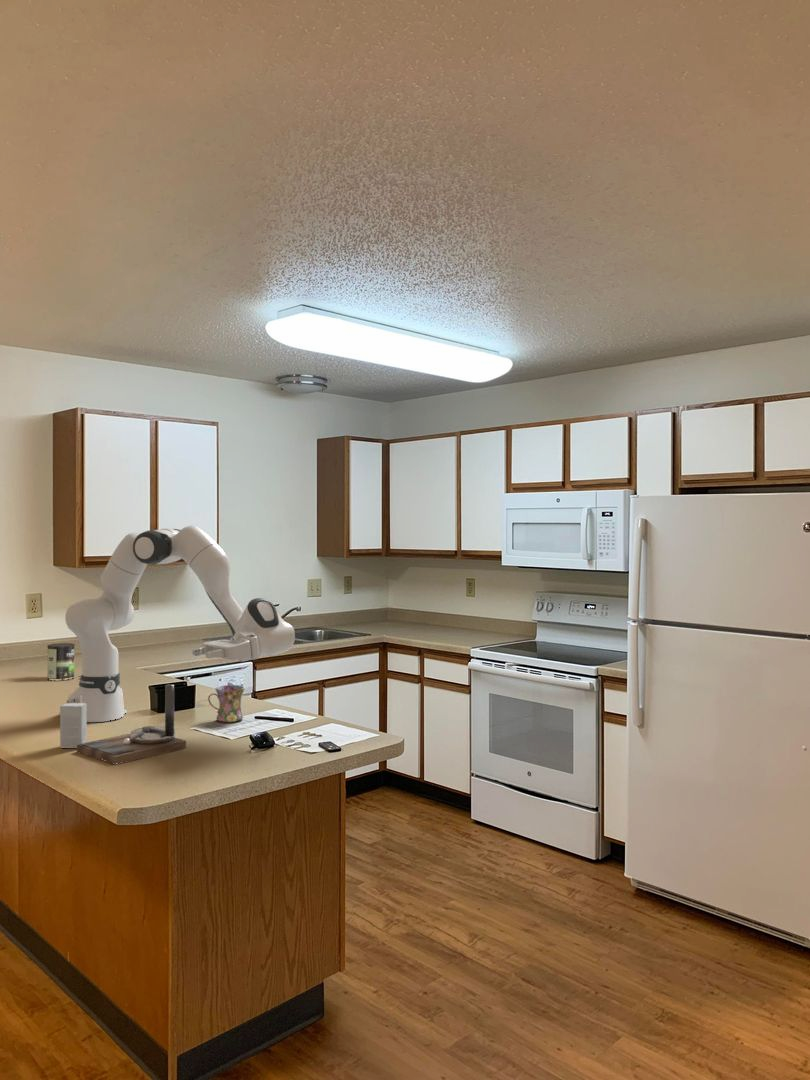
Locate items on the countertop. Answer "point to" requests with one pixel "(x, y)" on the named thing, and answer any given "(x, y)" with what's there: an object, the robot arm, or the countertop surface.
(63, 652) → the coffee can
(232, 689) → the mug
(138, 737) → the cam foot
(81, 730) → the skincare box
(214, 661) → the countertop surface
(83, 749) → the stand
